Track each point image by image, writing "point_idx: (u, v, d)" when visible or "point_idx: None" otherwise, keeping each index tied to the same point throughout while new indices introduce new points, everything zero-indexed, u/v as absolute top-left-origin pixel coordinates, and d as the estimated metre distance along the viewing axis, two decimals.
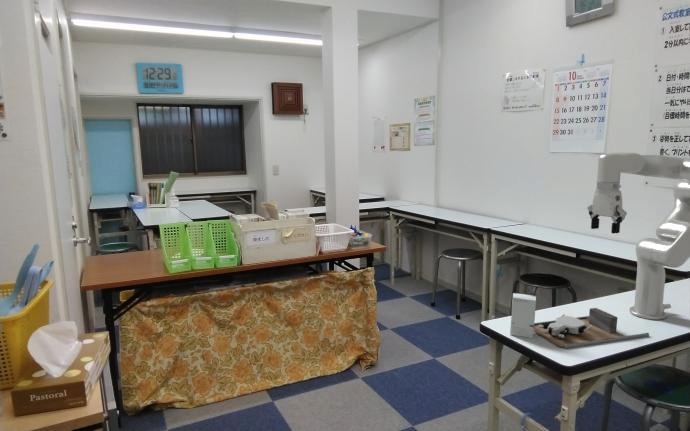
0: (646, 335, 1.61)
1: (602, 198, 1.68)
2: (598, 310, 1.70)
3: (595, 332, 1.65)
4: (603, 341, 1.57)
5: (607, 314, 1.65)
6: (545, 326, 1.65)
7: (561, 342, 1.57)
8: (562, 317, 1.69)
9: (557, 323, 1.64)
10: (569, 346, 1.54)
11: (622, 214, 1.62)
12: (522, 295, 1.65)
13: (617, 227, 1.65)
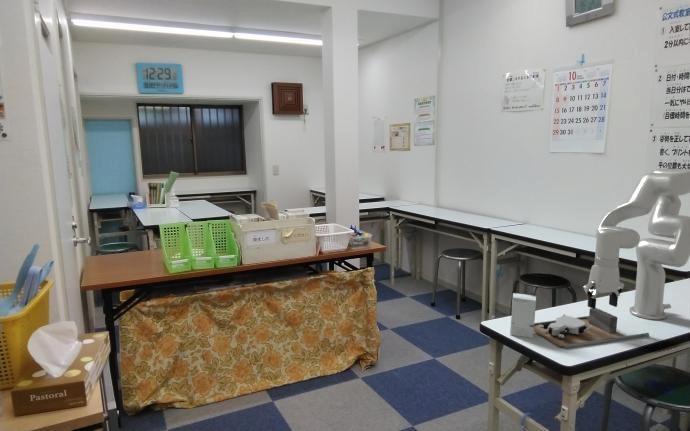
0: (646, 335, 1.61)
1: (611, 275, 1.63)
2: (598, 310, 1.70)
3: (595, 332, 1.65)
4: (603, 341, 1.57)
5: (607, 314, 1.65)
6: (545, 326, 1.65)
7: (561, 342, 1.57)
8: (562, 317, 1.68)
9: (557, 323, 1.63)
10: (569, 346, 1.54)
11: (622, 286, 1.67)
12: (522, 295, 1.65)
13: None
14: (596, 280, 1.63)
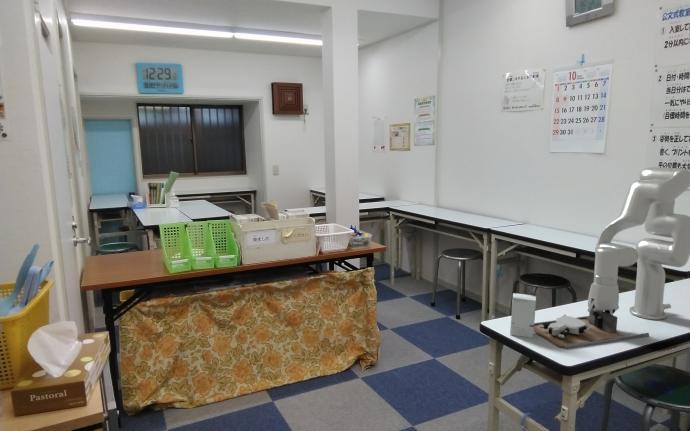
0: (646, 335, 1.61)
1: (610, 293, 1.64)
2: None
3: (595, 332, 1.65)
4: (603, 341, 1.57)
5: (607, 314, 1.65)
6: (545, 326, 1.65)
7: (561, 342, 1.57)
8: (563, 317, 1.68)
9: (557, 323, 1.63)
10: (569, 346, 1.54)
11: (616, 308, 1.68)
12: (522, 295, 1.65)
13: None
14: (596, 298, 1.64)
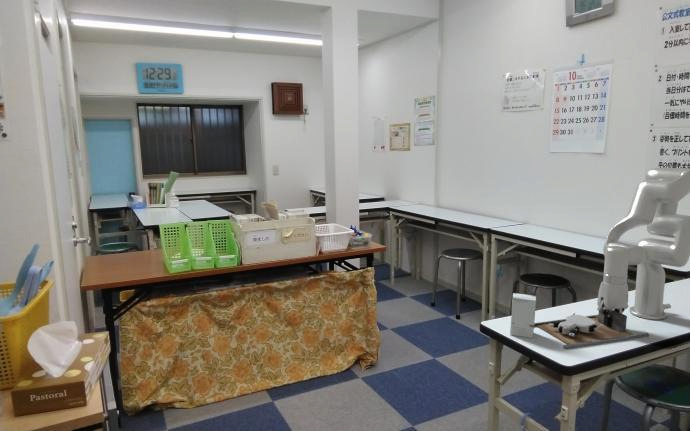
0: (646, 335, 1.61)
1: (620, 292, 1.65)
2: None
3: (605, 331, 1.66)
4: (603, 341, 1.57)
5: (616, 313, 1.66)
6: (555, 325, 1.66)
7: (571, 340, 1.58)
8: (572, 316, 1.69)
9: (567, 322, 1.64)
10: (569, 346, 1.54)
11: (626, 307, 1.69)
12: (522, 295, 1.65)
13: None
14: (605, 297, 1.65)
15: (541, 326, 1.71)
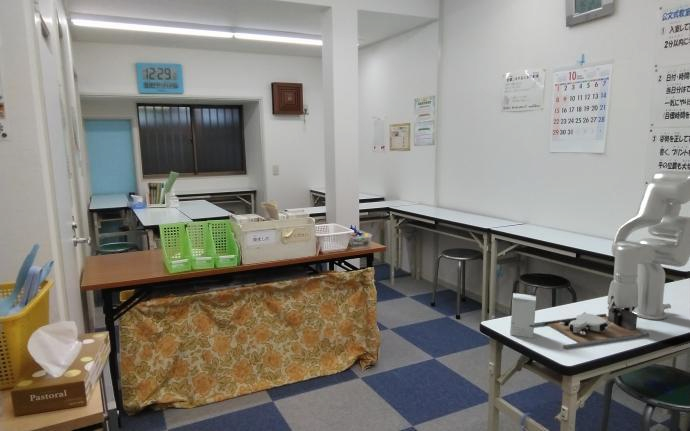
0: (646, 335, 1.61)
1: (630, 291, 1.66)
2: None
3: (615, 329, 1.67)
4: (603, 341, 1.57)
5: (626, 312, 1.68)
6: (566, 323, 1.67)
7: (582, 339, 1.59)
8: (583, 315, 1.70)
9: (578, 320, 1.65)
10: (569, 346, 1.54)
11: (636, 306, 1.70)
12: (522, 295, 1.65)
13: None
14: (616, 296, 1.66)
15: (551, 325, 1.72)
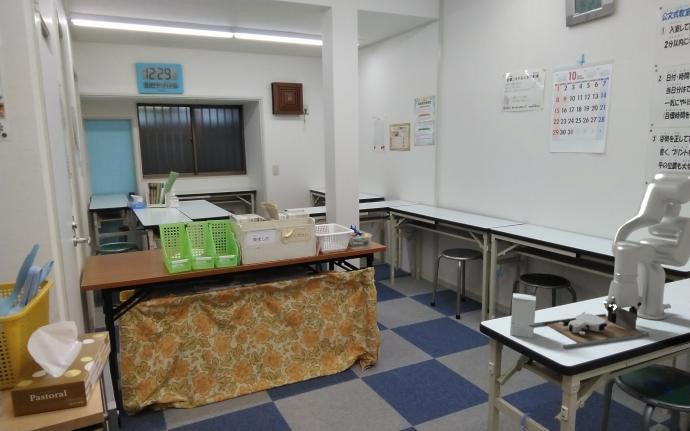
0: (646, 335, 1.61)
1: (631, 290, 1.66)
2: None
3: (614, 329, 1.67)
4: (603, 341, 1.57)
5: (626, 312, 1.67)
6: (565, 323, 1.67)
7: (582, 339, 1.59)
8: (582, 315, 1.70)
9: (577, 320, 1.65)
10: (569, 346, 1.54)
11: (641, 299, 1.70)
12: (522, 295, 1.65)
13: None
14: (616, 295, 1.66)
15: (551, 325, 1.72)
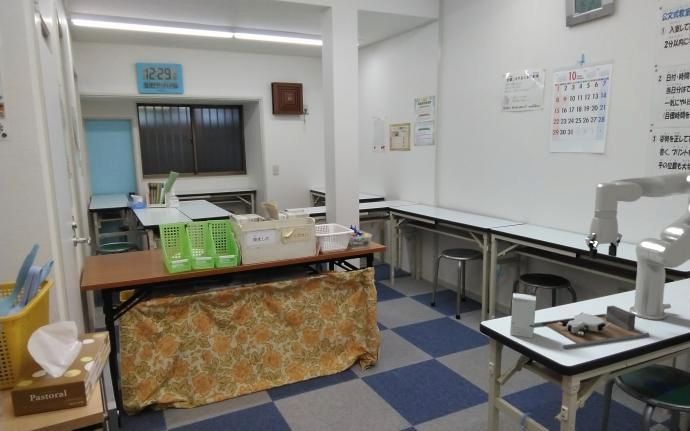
0: (646, 335, 1.61)
1: (610, 226, 1.72)
2: (616, 308, 1.72)
3: (613, 329, 1.66)
4: (603, 341, 1.57)
5: (625, 312, 1.67)
6: (564, 323, 1.67)
7: (580, 339, 1.59)
8: (581, 315, 1.70)
9: (576, 321, 1.65)
10: (569, 346, 1.54)
11: (620, 237, 1.76)
12: (522, 295, 1.65)
13: None
14: (597, 231, 1.72)
15: (550, 325, 1.72)
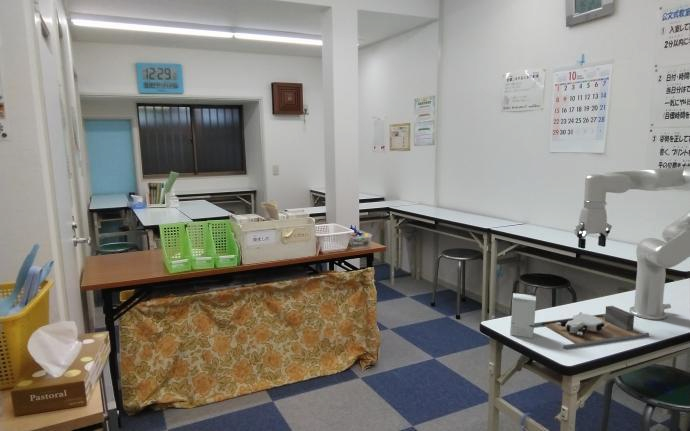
0: (646, 335, 1.61)
1: (599, 217, 1.76)
2: (614, 308, 1.72)
3: (612, 330, 1.66)
4: (603, 341, 1.57)
5: (623, 312, 1.67)
6: (563, 324, 1.67)
7: (579, 339, 1.59)
8: (579, 315, 1.70)
9: (575, 321, 1.65)
10: (569, 346, 1.54)
11: (610, 227, 1.80)
12: (522, 295, 1.65)
13: None
14: (585, 222, 1.76)
15: (548, 325, 1.72)
